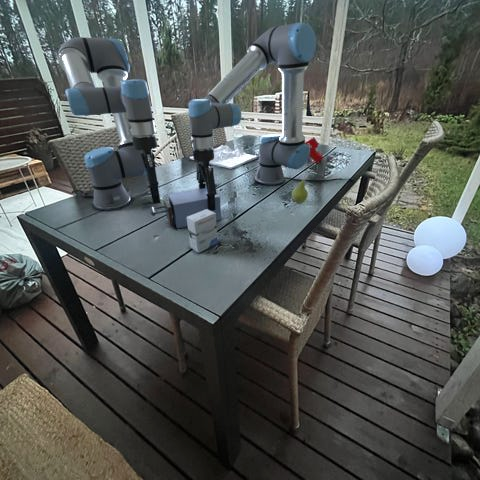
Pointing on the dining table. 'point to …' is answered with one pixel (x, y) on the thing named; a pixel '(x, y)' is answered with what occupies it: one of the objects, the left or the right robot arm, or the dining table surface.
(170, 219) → the drawer
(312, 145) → the toy gun
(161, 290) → the dining table surface
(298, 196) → the fruit
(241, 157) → the relief map
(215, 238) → the ink box
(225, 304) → the dining table surface
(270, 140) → the right robot arm
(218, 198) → the cabinet
